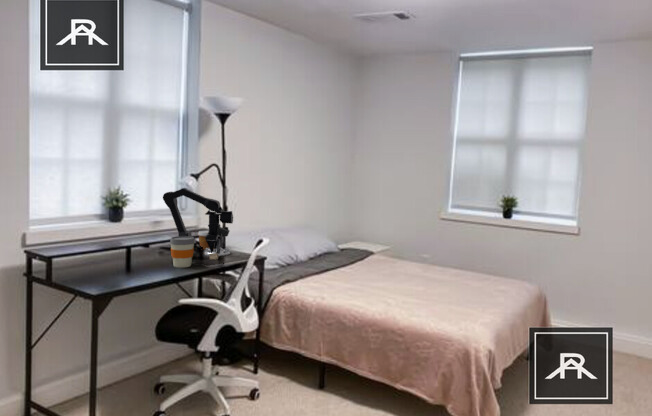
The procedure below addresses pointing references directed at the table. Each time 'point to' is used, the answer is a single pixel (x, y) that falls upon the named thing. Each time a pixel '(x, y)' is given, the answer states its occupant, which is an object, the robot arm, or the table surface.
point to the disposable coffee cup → (203, 239)
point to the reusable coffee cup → (182, 250)
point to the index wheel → (218, 250)
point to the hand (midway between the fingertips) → (213, 250)
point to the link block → (213, 256)
